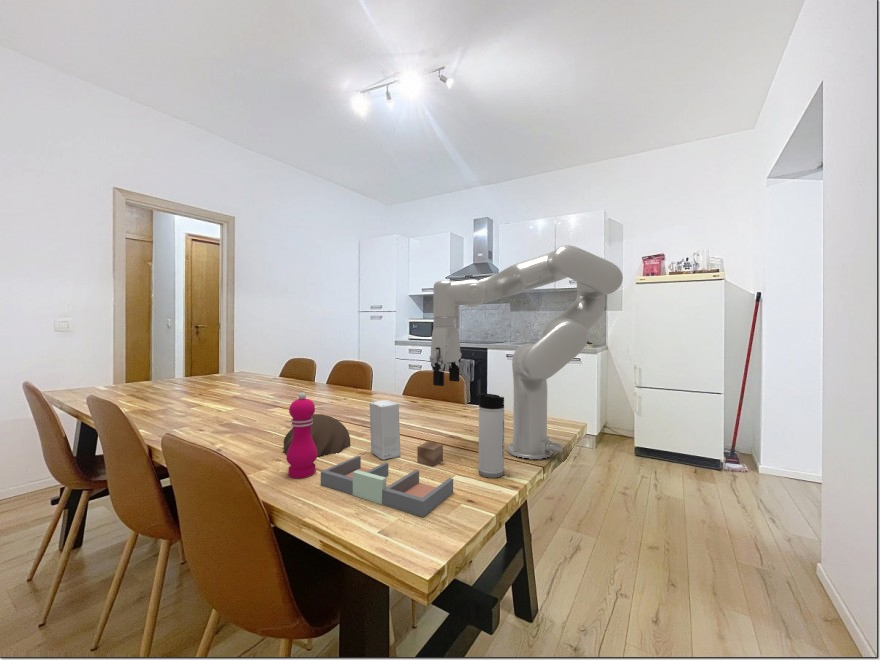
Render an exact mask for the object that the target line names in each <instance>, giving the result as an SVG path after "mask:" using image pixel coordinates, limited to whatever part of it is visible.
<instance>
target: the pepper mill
mask: <svg viewBox="0 0 880 660" xmlns="http://www.w3.org/2000/svg"><path fill="white" fill-rule="evenodd" d="M297 396H298V399H295V400H294V401H292V403H290V405H289V408H288V413H289V416H290V417H291V418H292V419H291V424H290V425H291V426H292V428H293V430H294V432H293V439H292V442H291V444H290V446H289V448H288V451H287V454H286V457H285V459H286V462H287V464H289V465H290V466H289V467H288V468H287V469H288V471H287V472H288V477H289V478H291V479H304V477H305V478H309V477H311V476H313V475H315V474H316V463H314V462H316V461H317V459H318V458H317V456H318V454H317V448H316V445H315V443H314V441H313V439H312V436H311V425H312V424H313V422H312V421H313V418H312V415H313V414H315V412H316V406H315V403H314V401H312V400H311V399H308V398H307V395H306V392H300V393H299V394H298V395H297ZM308 476H309V477H308Z"/></svg>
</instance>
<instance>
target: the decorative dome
mask: <svg viewBox="0 0 880 660" xmlns="http://www.w3.org/2000/svg"><path fill="white" fill-rule="evenodd" d="M312 418H313V421H312V422H313V424H312V425H311V436H312V439H313V441H314V443H315V445H316V448H317V454H318V456H317V457H319V458H322V457H325V456H329V455H336V453H337V454H340V453H341V452H342V451H343V450H345V449H348V448H350V447H351V436H350V433H349V431H348V429H347V428H346V426H345V425H344V424H343V423H342V422H341V421H339V420H338V419H337V418H335V417H332V416H330V415H325V414H321V413H314V414H313V415H312ZM293 432H294V430H293V427H292V428H291V429H290V430H289V431H288V432H287V433H286V435H285V437H284V438H283V447H285V448H284V449H283V451H282V454H283V453H285V454H284V455H287V451H288V448H289V446H290V444H291V442H292V439H293ZM328 454H329V455H328ZM324 455H325V456H324ZM321 456H322V457H321Z"/></svg>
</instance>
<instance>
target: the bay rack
mask: <svg viewBox="0 0 880 660" xmlns="http://www.w3.org/2000/svg"><path fill="white" fill-rule="evenodd" d="M361 457H362V456H360V455H356V456H353V457H351V458H349V459H347V460H344V461H342V462H339V463H338V464H336V465H333V466H331V467H329V468H326V469H323V470H321V471H320V486H323V487H327V488H330V489H332V490H336V491H339V492H342V493H346V494H349V495H352V496H354V497H358V498H360V499H364V500H367V501H370V502H372V503H376V504H380V505H383V506H386V507H389V508H392V509H395V510H399V511H403V512H405V513H408V514H411V515H415V516H419V517H421V518H424V517H425V516H427V515H428V514H429V513H431V512H432V510H434V509H435V508H436V507H438V506H439V505H441V503H443V502H444V501H445V500H446V499H448V498H449V496H451V495H452V494H453V493H454V478H452V477H449V478H447V479H446V480H445V481H443V482H442V483H440V484H439V485H438V486H434V485H430V484H427V483H422V482H420V470H418V469H414V470H413V471H411V472H409V473H407V474H406V475H404V476H402V477H401V478H400V479H397V480H395V482H393V483H391V484H389V485H388V486H387V477H388V476H389V462H382V463H381V464H378V465H377V466H375V467H372V469H368V468H365V467H361V465H362V463H361V459H362V458H361Z"/></svg>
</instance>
